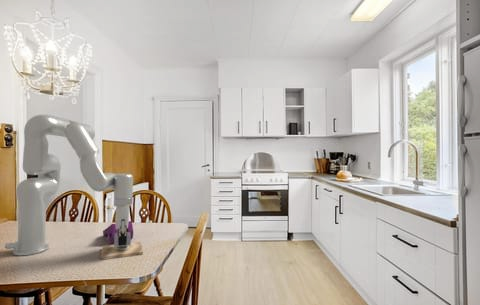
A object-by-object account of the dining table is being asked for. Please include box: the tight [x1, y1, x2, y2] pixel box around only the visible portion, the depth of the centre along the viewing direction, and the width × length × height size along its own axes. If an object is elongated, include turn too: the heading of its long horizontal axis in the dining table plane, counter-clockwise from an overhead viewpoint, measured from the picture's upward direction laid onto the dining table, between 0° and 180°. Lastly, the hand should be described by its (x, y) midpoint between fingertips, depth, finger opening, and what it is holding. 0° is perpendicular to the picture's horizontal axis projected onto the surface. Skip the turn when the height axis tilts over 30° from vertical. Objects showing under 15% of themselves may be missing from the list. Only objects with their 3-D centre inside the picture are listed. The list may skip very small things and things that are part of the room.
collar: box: [113, 232, 132, 247], centre depth 117 cm, size 6×6×4 cm
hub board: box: [100, 241, 144, 261], centre depth 117 cm, size 16×14×6 cm
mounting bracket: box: [102, 220, 134, 245], centre depth 135 cm, size 9×8×18 cm
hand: (122, 242), depth 117 cm, fingers closed on collar, 6 cm apart
